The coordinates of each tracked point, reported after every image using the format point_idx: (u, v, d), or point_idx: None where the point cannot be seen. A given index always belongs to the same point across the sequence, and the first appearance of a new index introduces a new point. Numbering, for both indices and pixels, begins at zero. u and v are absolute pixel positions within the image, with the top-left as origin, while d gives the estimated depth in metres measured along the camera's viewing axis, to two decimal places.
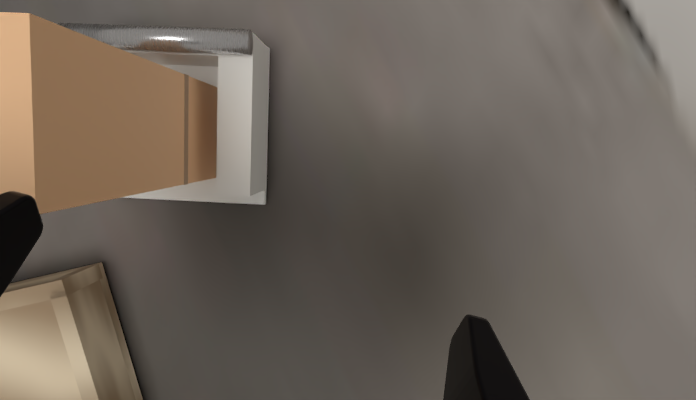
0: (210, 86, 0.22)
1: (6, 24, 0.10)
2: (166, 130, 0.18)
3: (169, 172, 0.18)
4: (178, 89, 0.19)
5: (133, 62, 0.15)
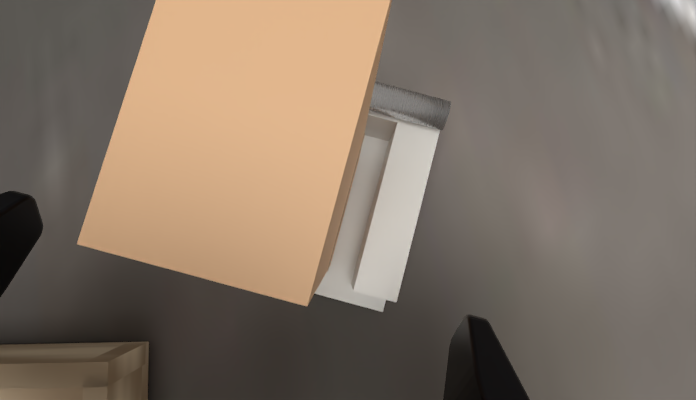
0: None
1: None
2: (346, 197, 0.13)
3: (331, 253, 0.13)
4: (359, 150, 0.14)
5: (370, 101, 0.11)
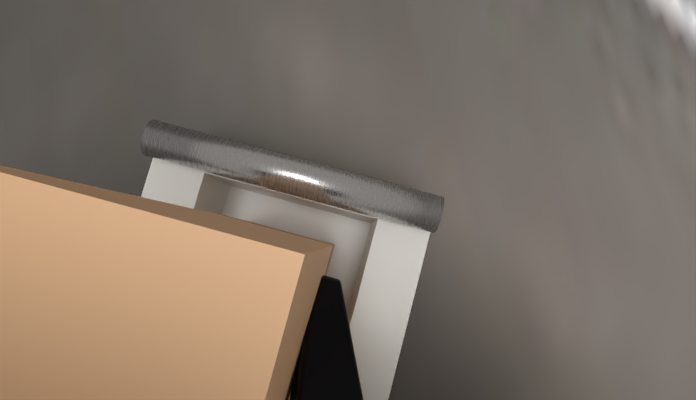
0: None
1: (211, 270, 0.03)
2: None
3: None
4: (324, 273, 0.11)
5: (323, 262, 0.08)
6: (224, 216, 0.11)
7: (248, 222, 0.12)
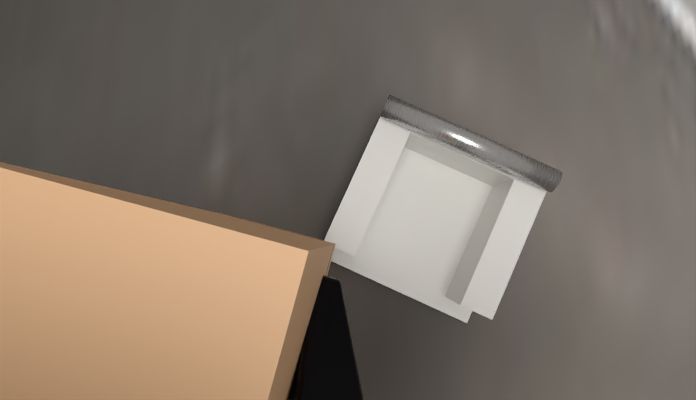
0: (334, 246, 0.15)
1: (215, 267, 0.03)
2: None
3: None
4: (325, 272, 0.11)
5: (324, 260, 0.08)
6: (225, 215, 0.11)
7: (249, 221, 0.12)
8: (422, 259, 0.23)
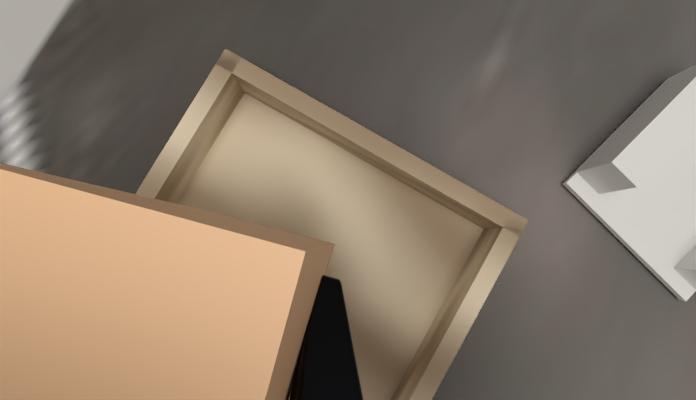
0: (334, 246, 0.15)
1: (211, 267, 0.03)
2: None
3: None
4: (325, 272, 0.11)
5: (323, 261, 0.08)
6: (224, 215, 0.11)
7: (248, 221, 0.12)
8: (663, 224, 0.23)
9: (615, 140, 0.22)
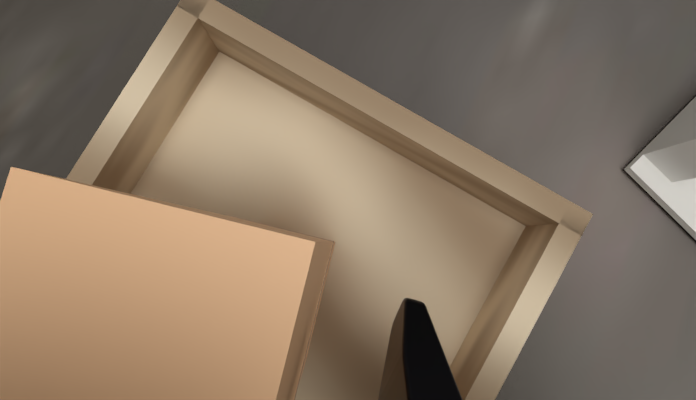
0: (334, 244, 0.16)
1: (253, 254, 0.04)
2: (308, 334, 0.11)
3: (293, 398, 0.11)
4: (326, 266, 0.13)
5: (325, 254, 0.09)
6: None
7: (258, 223, 0.13)
8: None
9: None
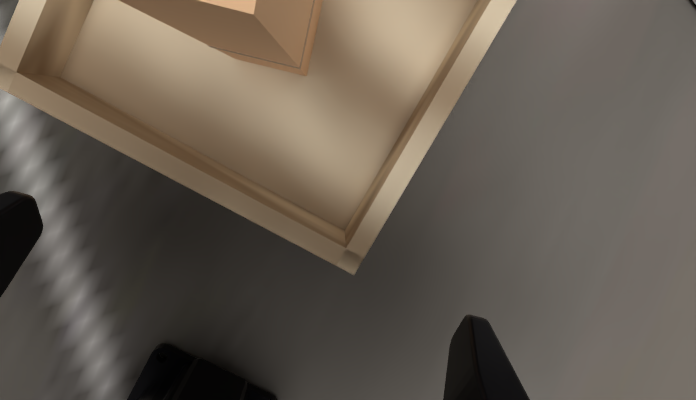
0: None
1: None
2: None
3: (299, 43, 0.14)
4: None
5: None
6: None
7: None
8: None
9: None
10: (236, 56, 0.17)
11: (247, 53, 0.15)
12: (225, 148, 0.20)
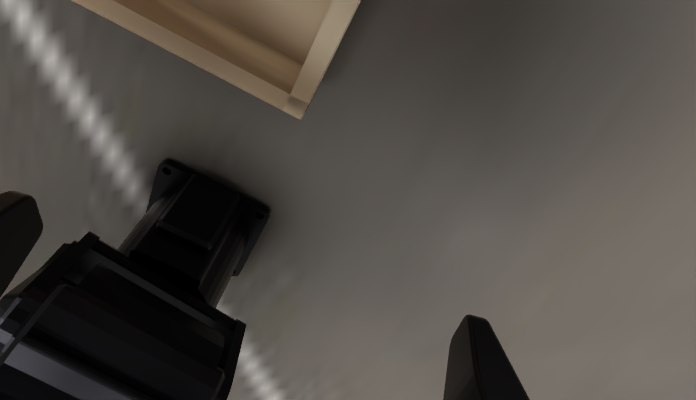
0: None
1: None
2: None
3: None
4: None
5: None
6: None
7: None
8: None
9: None
10: None
11: None
12: None
